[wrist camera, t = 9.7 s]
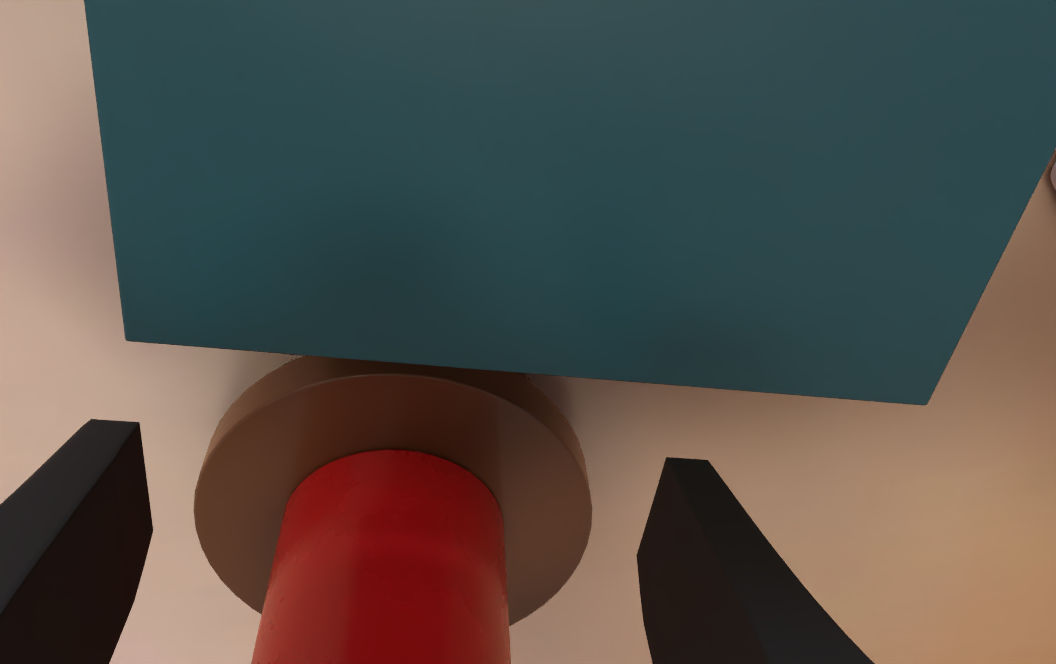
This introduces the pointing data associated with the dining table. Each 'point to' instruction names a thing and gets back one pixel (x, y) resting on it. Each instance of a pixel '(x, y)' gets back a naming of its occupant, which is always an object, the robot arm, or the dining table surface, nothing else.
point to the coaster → (395, 423)
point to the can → (388, 567)
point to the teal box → (575, 181)
